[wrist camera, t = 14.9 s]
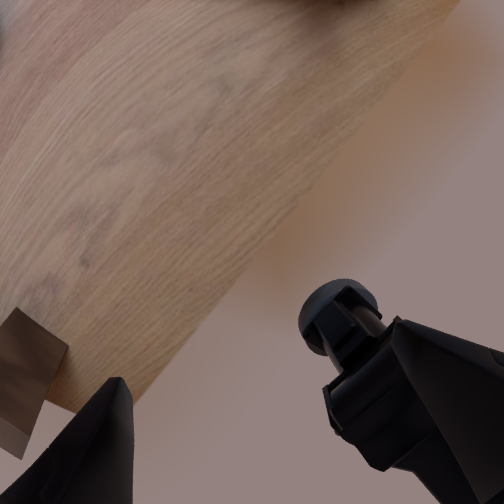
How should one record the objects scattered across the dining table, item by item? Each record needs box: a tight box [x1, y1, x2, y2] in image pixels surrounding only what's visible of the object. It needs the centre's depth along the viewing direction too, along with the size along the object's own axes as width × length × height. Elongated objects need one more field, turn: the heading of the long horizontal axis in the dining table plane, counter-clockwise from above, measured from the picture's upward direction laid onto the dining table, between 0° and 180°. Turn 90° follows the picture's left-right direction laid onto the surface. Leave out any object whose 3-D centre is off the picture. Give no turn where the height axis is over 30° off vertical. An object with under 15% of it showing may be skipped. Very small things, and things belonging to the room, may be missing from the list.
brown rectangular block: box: [0, 307, 68, 460], centre depth 16 cm, size 6×6×10 cm
